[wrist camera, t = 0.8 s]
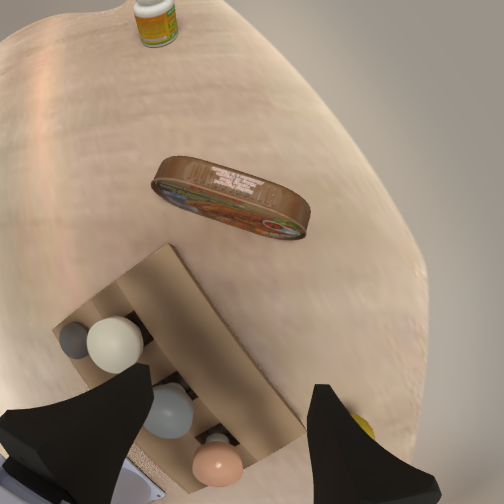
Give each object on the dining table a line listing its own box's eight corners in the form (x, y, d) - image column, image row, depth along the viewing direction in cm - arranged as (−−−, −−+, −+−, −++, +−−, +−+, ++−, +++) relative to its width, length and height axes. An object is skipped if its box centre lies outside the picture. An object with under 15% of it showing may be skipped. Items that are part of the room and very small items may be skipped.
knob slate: (170, 419, 25) (162, 445, 19) (143, 386, 25) (128, 407, 19) (205, 399, 25) (203, 424, 20) (177, 364, 25) (168, 383, 20)
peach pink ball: (213, 463, 25) (213, 492, 19) (187, 437, 25) (182, 465, 19) (247, 445, 25) (252, 474, 20) (221, 418, 25) (222, 445, 20)
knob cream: (126, 364, 25) (108, 382, 19) (101, 326, 25) (77, 336, 20) (161, 342, 25) (148, 357, 20) (134, 302, 25) (115, 308, 20)
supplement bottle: (177, 45, 32) (170, -5, 22) (139, 51, 31) (125, 3, 22) (178, 23, 32) (173, -24, 22) (143, 28, 32) (132, -17, 22)
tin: (158, 201, 30) (138, 176, 22) (169, 175, 30) (153, 142, 22) (292, 246, 31) (317, 236, 23) (300, 218, 32) (327, 199, 23)
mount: (190, 477, 28) (188, 499, 23) (66, 325, 28) (46, 331, 23) (299, 417, 30) (310, 436, 25) (174, 246, 30) (165, 241, 25)
